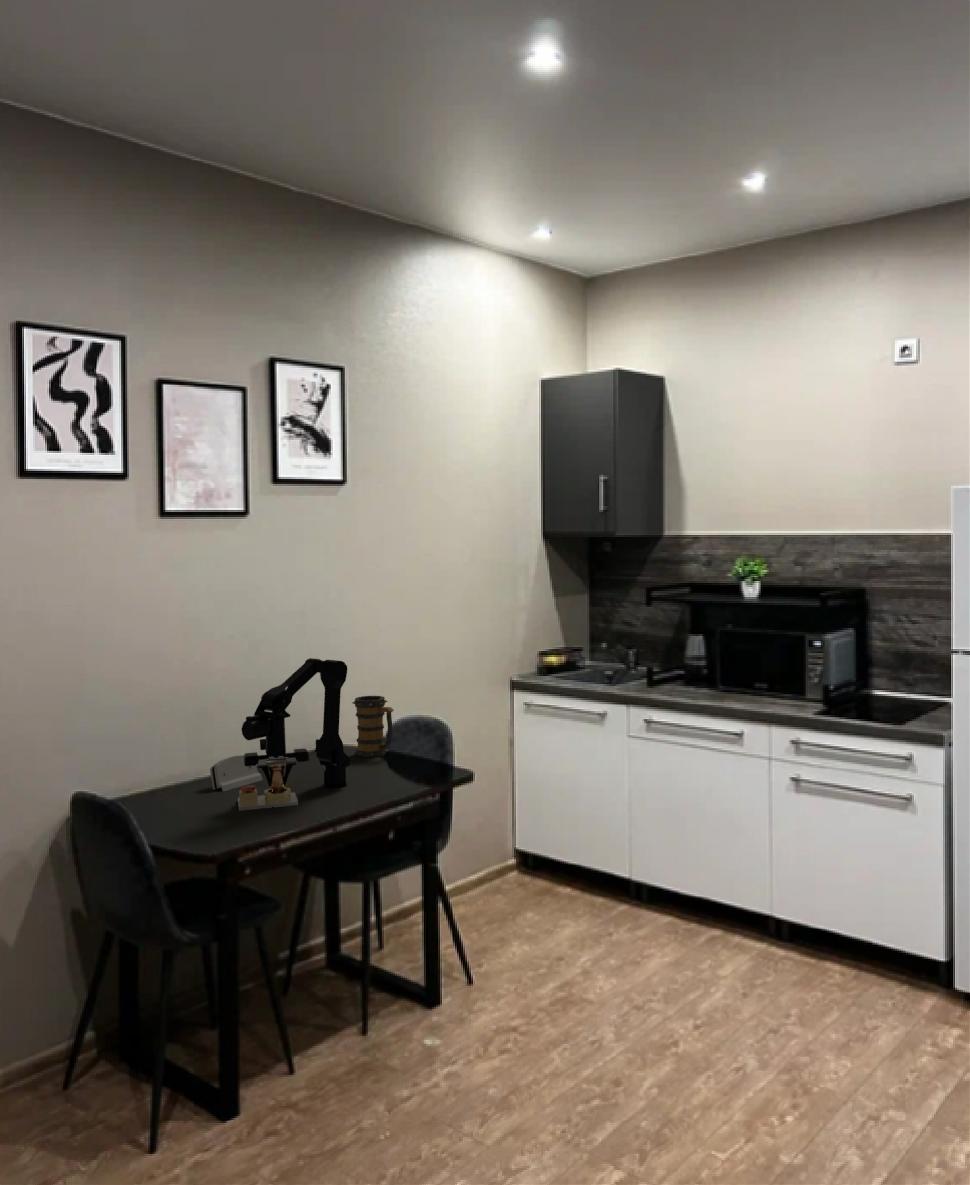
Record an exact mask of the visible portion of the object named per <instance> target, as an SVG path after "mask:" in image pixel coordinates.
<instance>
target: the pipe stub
mask: <svg viewBox="0 0 970 1185" xmlns="http://www.w3.org/2000/svg"><path fill="white" fill-rule="evenodd" d="M268 769H269V775H270V780H271V787H270V788H271V793H282V792H284V787H285V785H284V769H285V764H282V763H281V764H280V763H279V764H277V763H276V764H271V765H268Z"/></svg>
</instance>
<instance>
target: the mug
mask: <svg viewBox="0 0 970 1185" xmlns="http://www.w3.org/2000/svg"><path fill="white" fill-rule="evenodd" d="M385 698H386V697H385V696H383V695H364V696H363V695H362V696H357V697H355V698H354V701H353V702H351V703H352V704H354V707H356V712H355V717H357V726H356V728H357V730H358V731H357V732H358V734H357V736H358V737H357V739H355V740H356V743H357V748H356V750H354V751H353V753H355V754H356V756H358V757H363V758H376V757H382V756H384V755H386V754H387V752H389V751H390V750H389V749H388V748H389V747H390V746H391V743H392V739H393V732H394V729H393V720H392V713H393V712H394V711H395V709H394V708H392V707H391V706H385V705H386V703H387V702H388V700H386V699H385ZM385 714H386V724H387V736H386V737H385V736H384V728H385V725H384V723H383V722H384V721H383V720H384V718H383V717H384V715H385Z"/></svg>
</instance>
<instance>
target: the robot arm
mask: <svg viewBox="0 0 970 1185" xmlns="http://www.w3.org/2000/svg"><path fill="white" fill-rule="evenodd" d="M318 673H319V675H320V676H319V677H320V681H321V682H322V685H323V687H324V698H323V700H324V701H323V702H324V703H323V704H324V705H323V722H322V724H323V726H322V734H321V736H320V737H319V739H318V738H317V739H315V749H314V753H315V755H316V758H317V759H318V761H319V763H320V764H319V765H320V766H324V769H323V770H322V782H323V784H324V786H325V788H327V789H328V788H336V787H337V788H339V787H347V786H348V784H347V775H346V774H347V773H346V772H347V770H346V768H348V767H350V764H351V757H349V756H348V755H347V754H346V753H345V752H344V742H343V740H342V738H341V736H340V716H341V715H340V713H341V710H340V707H341V693H342V691H341V689H342V687H343V686H344V684H345V683H346V681H347V675H348V666H347V664H346V663H345V662H344V661H342V660H336V659H325V660H322V659H320V658H313V657H311V658H308V659H306V660H305V662H304V663H303V664H302V665H301V666H300V667H299V668H298V669H296V670H295V672H293V673H292V674H291V675H290V676H288V678H287V679H285V681H284V682H282V683H281V684H279V685H277V686H274V687H272V688H270V689H269V690H267V691H266V692H265V691H264V693H263V694H262V695H261V697H260V702H259V703H258V705H257V707H256V709H255V712H254V713H253V715H251V716H250V715H249V716H246V717H245V721H243V723H242V726H241V734H242V736H243V738H244V739H245V740H247V741H252V740H257V739H259V749H260V751H265V754H259V755H258V752H255V751H254V752H245V753H244V755H243V756H244V765H245V766H256V767H257V769H261V770H262V772H263V774H264V775H265V778H266V781H267V784H268V786H269V788H271V780H270V770H269V764H268V762H270V761H283V760H284V767H285V769H284V786H286V785H287V782H288V778H289V774H290V772H291V771H292V768H293V766H296V765H297V762H298V763H301V762H302V763H303V762H310V756H309V751H308V749H306V748H294V749H293V752H287V748H286V743H287V742H286V724H285V723H286V721H285V720H286V719H287V718H290V717H291V714H290V713H289V712H288V711H286V710H287V708H288V707H289V705H290V704H291V703H292V700H293V696H294V695H295V694H296V693H297V692H298V691H300V690H301V688H303V687H304V686H305V685H306V684H307V683H308V682H309V681H310V680H311V679H312V678H313V677H315V675H316V674H318Z"/></svg>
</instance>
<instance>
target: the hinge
mask: <svg viewBox="0 0 970 1185" xmlns="http://www.w3.org/2000/svg"><path fill="white" fill-rule="evenodd" d="M209 772H210V778H211V779H210V780H211V785H212V786H211V787H212V790H217V789H220V788H221V790H222V792H226V791H230V790H233V789H237V788H241V787H242V786H246V785H252V784H254V783H257V782H261V781H263V780H264V779H263V776H262V774H261V773H259V770H258V766H257V765H256V766H245V765H244V755H233V756H229V757H226V758H223V759H222V760H220V761H218V762H216V763H214V764H213V765H212V766H211V767H210V768H209Z"/></svg>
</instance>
